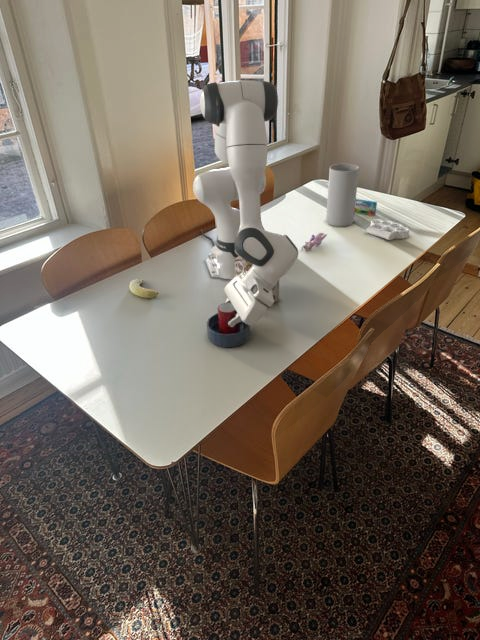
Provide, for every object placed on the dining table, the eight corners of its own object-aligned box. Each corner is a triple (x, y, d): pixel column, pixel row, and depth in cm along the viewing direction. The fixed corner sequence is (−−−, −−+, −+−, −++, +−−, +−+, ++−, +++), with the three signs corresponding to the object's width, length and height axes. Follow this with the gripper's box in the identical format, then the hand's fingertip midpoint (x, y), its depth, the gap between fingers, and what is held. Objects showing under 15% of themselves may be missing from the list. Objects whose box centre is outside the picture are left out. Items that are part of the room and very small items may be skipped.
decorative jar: (235, 294, 162) (232, 247, 152) (264, 286, 166) (264, 240, 156) (248, 310, 153) (247, 261, 143) (280, 301, 156) (280, 253, 147)
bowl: (202, 330, 144) (200, 317, 141) (240, 320, 148) (239, 306, 145) (217, 353, 134) (216, 339, 131) (257, 341, 138) (257, 327, 135)
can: (216, 331, 142) (214, 305, 137) (234, 326, 144) (232, 300, 138) (224, 341, 137) (222, 314, 132) (241, 336, 139) (240, 309, 134)
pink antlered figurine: (310, 256, 188) (331, 239, 195) (309, 243, 184) (331, 226, 191) (298, 252, 191) (319, 235, 199) (297, 239, 188) (319, 223, 195)
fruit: (140, 304, 159) (139, 296, 157) (124, 286, 170) (123, 279, 168) (159, 298, 162) (158, 289, 160) (143, 281, 173) (141, 273, 171)
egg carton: (359, 232, 203) (379, 223, 210) (394, 244, 191) (414, 234, 199) (360, 225, 201) (380, 216, 208) (395, 236, 189) (415, 226, 197)
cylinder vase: (333, 215, 221) (337, 162, 207) (357, 220, 215) (363, 165, 201) (321, 223, 213) (324, 169, 199) (346, 229, 206) (351, 172, 193)
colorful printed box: (350, 211, 224) (351, 199, 221) (351, 210, 225) (352, 198, 222) (374, 215, 219) (376, 202, 215) (375, 214, 220) (377, 201, 216)
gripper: (237, 264, 141) (209, 297, 144) (260, 295, 124) (228, 332, 127) (252, 274, 144) (224, 306, 147) (276, 306, 128) (244, 342, 131)
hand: (226, 319), depth 137 cm, fingers closed on can, 6 cm apart
